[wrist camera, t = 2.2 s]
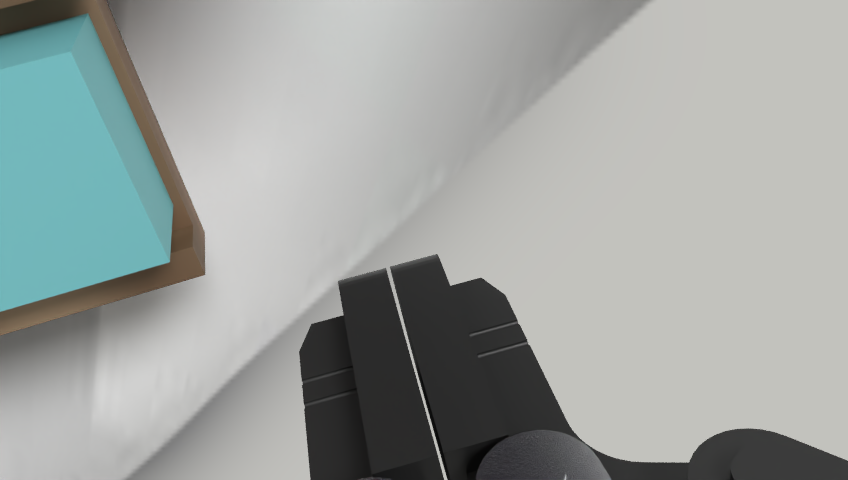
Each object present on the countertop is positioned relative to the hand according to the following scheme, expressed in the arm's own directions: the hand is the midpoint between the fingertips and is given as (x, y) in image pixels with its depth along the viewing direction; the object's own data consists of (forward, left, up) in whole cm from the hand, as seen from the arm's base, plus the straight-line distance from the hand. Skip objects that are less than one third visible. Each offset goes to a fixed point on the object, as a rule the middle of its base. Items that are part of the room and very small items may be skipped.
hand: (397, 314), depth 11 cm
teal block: (+9, 0, -11) cm, 14 cm away
